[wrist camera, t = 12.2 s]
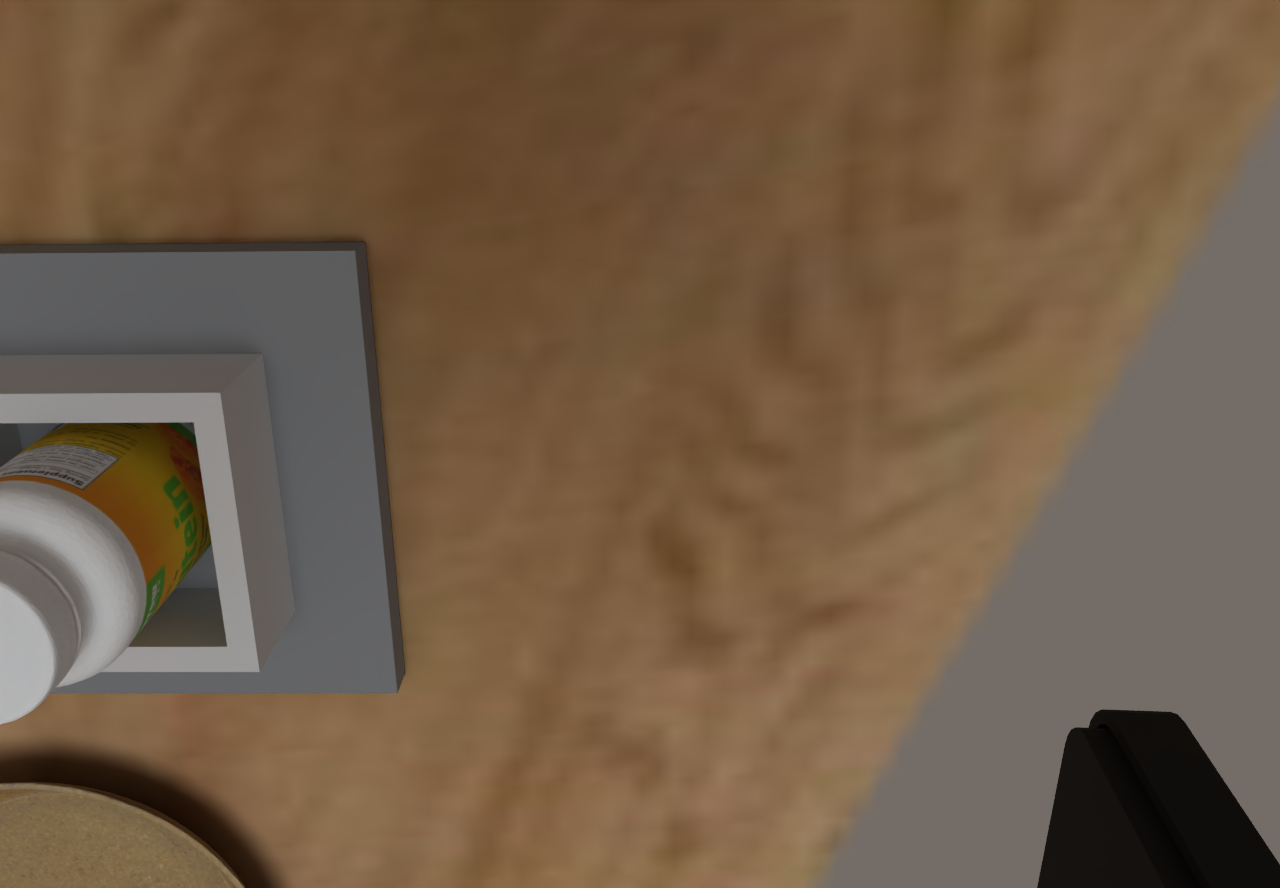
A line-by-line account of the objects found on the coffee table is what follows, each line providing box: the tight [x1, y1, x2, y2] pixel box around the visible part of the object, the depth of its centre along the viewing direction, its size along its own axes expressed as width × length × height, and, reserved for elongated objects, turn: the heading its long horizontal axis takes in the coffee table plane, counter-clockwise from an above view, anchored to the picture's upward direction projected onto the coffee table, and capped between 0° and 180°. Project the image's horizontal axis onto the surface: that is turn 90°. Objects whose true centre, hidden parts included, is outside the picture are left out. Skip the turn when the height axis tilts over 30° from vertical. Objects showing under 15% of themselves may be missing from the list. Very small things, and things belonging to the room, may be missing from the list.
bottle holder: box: [0, 242, 405, 693], centre depth 35 cm, size 14×14×5 cm
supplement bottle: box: [0, 422, 212, 724], centre depth 31 cm, size 5×5×10 cm
